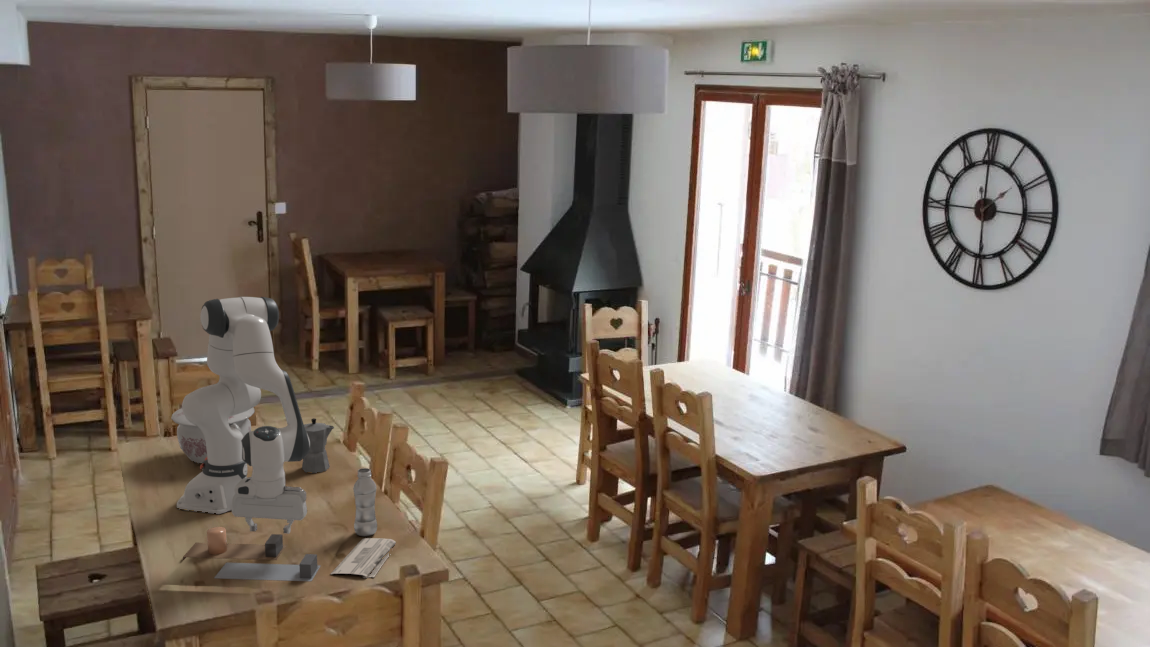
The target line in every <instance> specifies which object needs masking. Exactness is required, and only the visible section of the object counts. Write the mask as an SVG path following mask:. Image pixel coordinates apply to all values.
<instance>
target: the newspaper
mask: <svg viewBox="0 0 1150 647" xmlns="http://www.w3.org/2000/svg"><path fill="white" fill-rule="evenodd" d="M396 543H397V542H396V541H395V540H394V539H391V538H384V537H383V538H382V537H381V538H379V537H378V538H377V537H375V538H374V537H372V538H371V537H367V538H366V537H365V538H362V539H361V540H360V541H358V542H357V544H356V545H355V546H354V547H353V549H351V550H350V552H349V553H348V554H347V555H345V557H344V558H343V560H342V561H340V563H339V564H338V565H337V566H336V567H335V568H334V569H333V571H332V572H330V574H329V575H334V574H335V575H337V574H345V575H348V574H349V575H350V574H351V575H359V576H362V577H361V578H363V579H367V578H375V577H376V575H377V574H378V572H379V571H380V569H381V567H383V565H384V564H385V562H386V561H387V559H388V558H389V557H390V556H389V553H388V552H389V551H390V549H391V548H392V547H393V548H394V546H395V545H396ZM393 548H392V549H393ZM387 553H388V554H387ZM386 554H387V555H386ZM385 555H386V556H385ZM384 556H385V557H384ZM383 557H384V558H383ZM382 558H383V559H382ZM374 568H375V569H374ZM373 569H374V570H373ZM371 572H372V573H371ZM370 573H371V574H370Z"/></svg>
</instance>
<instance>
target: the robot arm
mask: <svg viewBox="0 0 1150 647" xmlns="http://www.w3.org/2000/svg"><path fill="white" fill-rule="evenodd" d="M279 310H280V309H279V306H278V304H277V302H276V301H275V300H274V299H273V298H270V297H266V296H260V297H256V296H239V297H227V298H221V299H219V298H213V299H210V300H207V301H205V302H204V303H203V305H202V307H201V310H200V318H199V319H200V324H201V326H202V329H203V331H204V332H206V333H207V334H208V343H207V356H206V365H207V367H208V368H209V370H210V371H211V372H212V373H213V374H214V375H217V376H219V380H218V381H217V382H216V383H214V384H210V385H207V386H203V387H199V388H197V389H195V390H194V391H191V392H190V393H187V394H186V395H185V396H184V398H183V400H182V403H181V408H182V411H183V414H184V416H185V418H186V419H187V420H188V421H189V422H191V423H192V424H194V425H196V426H197V427H199V428H200V430H201V431H202V433H203V435H204V438H205V442H206V449H207V457H206V458H205V461H203V462H202V464H200V466H199V470H202V471H201V472H199V473H198V474H197V475H196V476H194V477H193V478H191V480H190V481H189V482H187V484H186V486H185V488H184V492H183V494H182V495H181V497H180V498H178V500H177V502H176V508H180V509H187V510H186V511H189V510H194V511H193V512H197V511H202V512H201V513H205V512H208V513H207V514H214V513H216V515H220V514H224V513H226V512H230V511H231V514H232V515H233V517H237V518H245V522H246V523H247V525H248V526H249V532H254V533H255V532H256V531H257V530H258V523H255V522H254V521H253V519H271V520H272V519H273V520H286V523H288V524H287V525H284V526H283V527H282V528H283V531H282V532H283V534H290V533H291V526H292V524H293V523H294V521H303V519H305V517H306V516H307V514H308V508H307V491H305V489H303V488H302V487H300V486H287V485H286V472H285V469H284V464H285V462H290V463H291V462H292V463H293V462H301V461H303V458H304V457H305V456H306V455H307V454H308V453H309V451H310V440H309V437H308V434H307V432H306V429H305V427H304V424H305V423H304V421H303V417H302V413H301V411H300V406H299V404H298V400H297V396H296V393H295V390H294V387H293V383H292V381H291V378H290V376H289V374H288V373H287V371H285V370H283V369H281V368H280V367H279V365H278V363H277V361H276V358H275V351H274V345H273V339H272V334H271V331H274V330H275V329H276V327H277V326H278V325H279V319H280V312H279ZM262 390H265V391H269V392H270V393H273V394H275V396H277V397H278V399H279V400H280V403H281V406H282V409H283V413H284V416H285V421H286V424H287V425H286V426H283V427H274V426H271V425H264V426H263V425H262V426H259V427H257V428H255V429H254V430H251V432H248V433H247V434H246V435H245V436H244V437H243V435H242V433H241V432H240V431H239V430H237V429H235V428H232V427H230V426H229V423H228V418H229V417H230V416H234V415H237V414H240V413H243V412H246V411H248V410H250V409H251V408H254V407H256V406H258V404H260V402H261V398H262ZM248 466H249V467H252V473H251V476H248ZM180 509H179V510H180Z"/></svg>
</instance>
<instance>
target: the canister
mask: <svg viewBox="0 0 1150 647" xmlns="http://www.w3.org/2000/svg"><path fill="white" fill-rule="evenodd" d="M206 539H207V540H206V541H207V543H208V553H210V554H214V555H216V554H222V553H224V552H226V551H227V544H228V541H227V530H226V528H225V527H224V526H215V527H211V528H209V529H207V530H206Z"/></svg>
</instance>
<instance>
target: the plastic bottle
mask: <svg viewBox="0 0 1150 647" xmlns="http://www.w3.org/2000/svg"><path fill="white" fill-rule="evenodd" d="M357 478H358V479H356V481H355V483H354V484H353V486H352V489H353V494H354V501H355V519H354V523H353V527H354V532H355V534H356V535H357V536H360V537H370V536H373V535H374V534H375V533H376V532H377V530H378V522H377V521H378V520H377V517H376V510H375V508H376V505H375V504H376V503H375V502H376V493H377V485H376V482H375V481H374V480H373V479H372V472H371V468H366V467H365V468H364V467H363V468H359V469H358V470H357Z"/></svg>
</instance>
